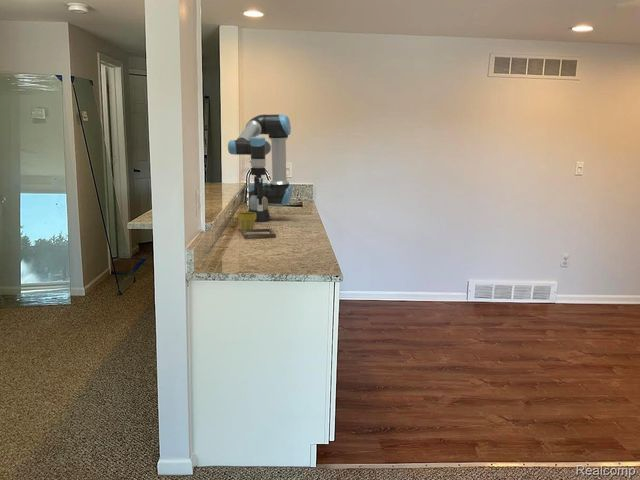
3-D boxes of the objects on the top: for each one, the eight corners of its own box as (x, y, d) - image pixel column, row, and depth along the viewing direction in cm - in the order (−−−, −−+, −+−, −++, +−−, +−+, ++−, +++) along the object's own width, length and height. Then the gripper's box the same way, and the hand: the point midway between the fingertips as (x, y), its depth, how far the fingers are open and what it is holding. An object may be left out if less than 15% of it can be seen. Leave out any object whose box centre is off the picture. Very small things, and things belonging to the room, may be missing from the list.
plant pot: (258, 229, 294) (258, 212, 292) (254, 232, 284) (254, 214, 282) (240, 228, 295) (240, 211, 293) (235, 231, 285) (235, 214, 283)
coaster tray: (241, 233, 280) (241, 229, 280) (271, 232, 284) (271, 228, 284) (244, 239, 265) (244, 234, 264) (275, 238, 269) (275, 233, 268)
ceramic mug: (263, 211, 267) (263, 196, 265) (249, 210, 268) (248, 195, 267) (270, 209, 277) (270, 194, 275) (256, 208, 279) (256, 194, 277)
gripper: (248, 166, 278) (248, 206, 282) (253, 168, 256) (254, 212, 260) (262, 166, 280) (262, 206, 284) (268, 168, 257) (269, 212, 262)
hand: (258, 209), depth 272 cm, fingers closed on ceramic mug, 11 cm apart
